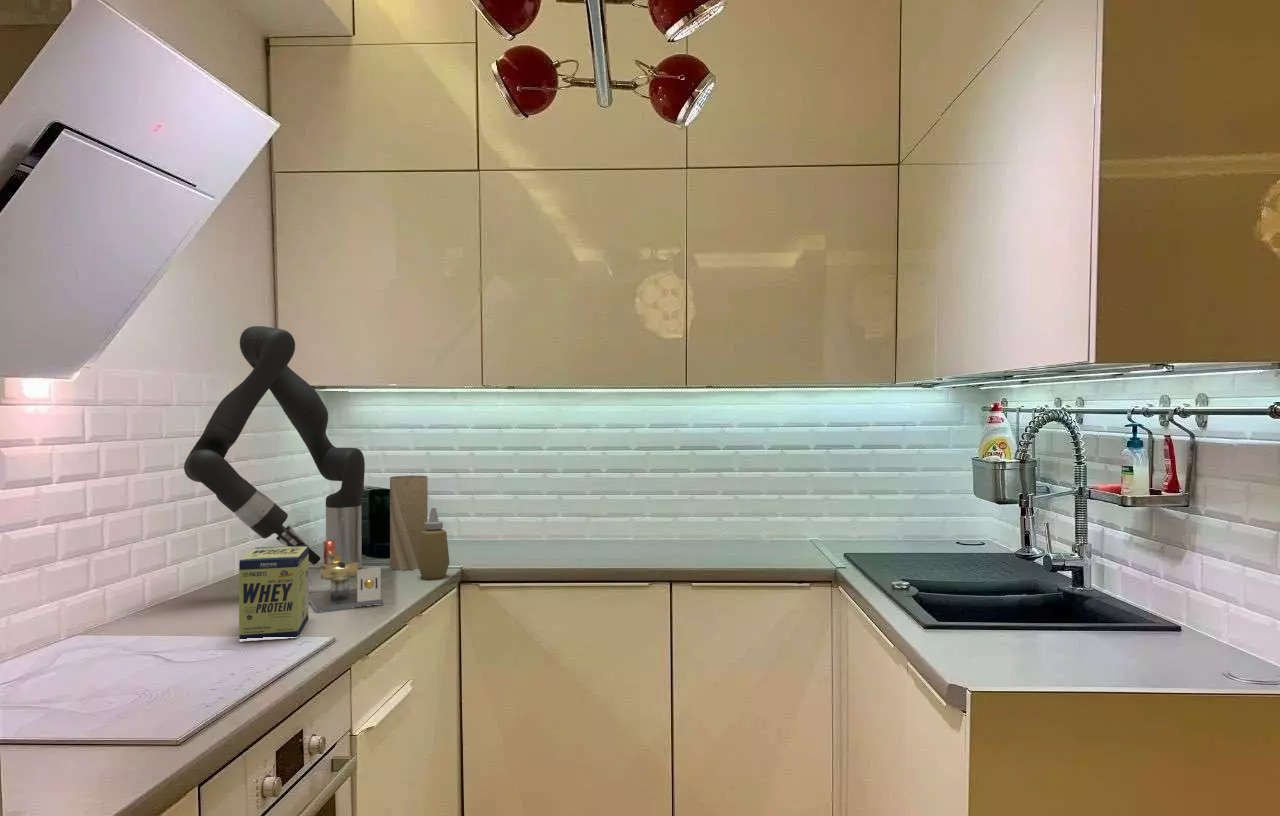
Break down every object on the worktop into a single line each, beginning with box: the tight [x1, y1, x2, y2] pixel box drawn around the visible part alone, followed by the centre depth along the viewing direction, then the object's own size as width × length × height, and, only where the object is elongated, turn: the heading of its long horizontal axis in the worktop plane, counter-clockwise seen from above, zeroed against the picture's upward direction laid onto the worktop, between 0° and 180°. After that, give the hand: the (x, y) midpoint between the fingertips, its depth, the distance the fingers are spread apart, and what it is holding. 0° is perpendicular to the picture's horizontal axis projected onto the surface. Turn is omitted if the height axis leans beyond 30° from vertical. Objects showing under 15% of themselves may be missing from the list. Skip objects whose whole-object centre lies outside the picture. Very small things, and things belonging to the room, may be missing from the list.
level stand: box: [308, 566, 384, 613], centre depth 180 cm, size 15×14×8 cm
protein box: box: [238, 545, 310, 639], centre depth 158 cm, size 10×16×16 cm
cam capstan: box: [320, 540, 358, 581], centre depth 184 cm, size 19×8×6 cm, turn 31°
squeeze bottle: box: [418, 507, 450, 580], centre depth 207 cm, size 8×8×18 cm
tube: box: [389, 475, 429, 571], centre depth 220 cm, size 10×10×25 cm
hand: (317, 561), depth 190 cm, fingers closed
